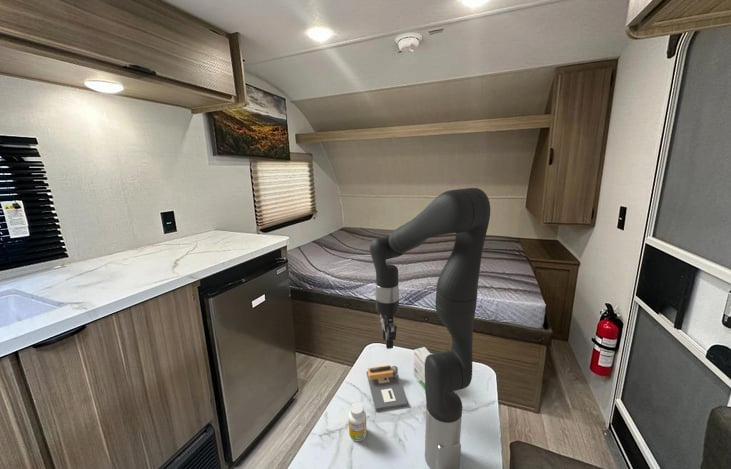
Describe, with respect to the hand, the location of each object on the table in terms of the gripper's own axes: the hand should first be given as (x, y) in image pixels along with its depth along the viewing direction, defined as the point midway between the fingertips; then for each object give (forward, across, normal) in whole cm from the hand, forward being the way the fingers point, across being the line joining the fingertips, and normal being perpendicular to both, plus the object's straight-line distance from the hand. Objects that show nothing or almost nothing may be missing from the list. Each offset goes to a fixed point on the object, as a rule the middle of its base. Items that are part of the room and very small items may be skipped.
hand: (387, 343), depth 96 cm
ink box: (+23, +6, -16) cm, 28 cm away
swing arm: (+19, +8, 0) cm, 21 cm away
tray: (+22, +4, 0) cm, 23 cm away
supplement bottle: (+23, -12, +12) cm, 28 cm away
